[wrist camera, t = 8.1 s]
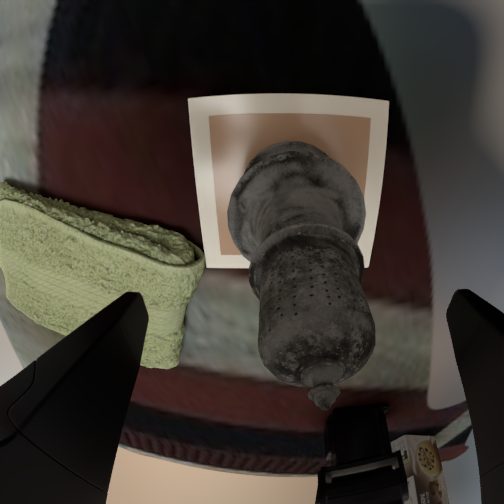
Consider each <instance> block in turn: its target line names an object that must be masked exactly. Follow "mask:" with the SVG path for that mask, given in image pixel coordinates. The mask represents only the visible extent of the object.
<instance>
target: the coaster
mask: <svg viewBox="0 0 504 504" xmlns="http://www.w3.org/2000/svg"><path fill="white" fill-rule="evenodd" d="M188 106H189V119H190V130H191V141H192V152H193V162H194V171H195V180H196V189H197V198H198V207H199V215H200V223H201V231H202V238H203V246H204V253H205V260H206V267H207V268H249V266H250V261H248V260H247V259H246V258H245V257H243V255H242V254H241V253H240V251H239V250H238V248H237V247H236V246H235V244H234V242H233V240H232V237H231V234H230V232H229V229H228V217H227V211H228V206H229V202H230V197H231V194H232V192H233V190H234V188H235V187H236V185H237V183H238V181H239V179H240V178H241V177H242V176H243V175H244V172H245V170H246V168H247V167H248V165H249V163H250V161H251V160H252V159H253V158H254V157H255V156H256V155H257V154H258V153H259V152H260V151H262V150H264V149H266V148H267V147H269V146H271V145H273V144H277V143H281V142H285V141H297V142H303V143H307V144H310V145H313V146H315V147H317V148H318V149H320V150H322V151H323V152H325V153H326V154H327V155H328V156H329V157H330V158H331V159H333V160H334V161H336V162H337V163H339V164H341V165H342V166H344V167H345V168H346V169H347V170H348V172H349V173H350V174H351V175H352V176H353V177H354V179H355V180H356V181H357V183H358V185H359V187H360V189H361V192H362V194H363V196H364V201H365V209H366V217H365V224H364V230H363V232H362V234H361V237H360V239H359V241H358V243H357V244H358V246H359V248H360V250H361V253H362V255H363V258H364V268H368V267H369V262H370V257H371V252H372V246H373V241H374V235H375V229H376V223H377V217H378V211H379V204H380V197H381V189H382V181H383V173H384V164H385V154H386V143H387V130H388V114H389V101H386V100H379V99H371V98H362V97H352V96H340V95H325V94H302V93H255V94H231V95H216V96H204V97H194V98H188Z"/></svg>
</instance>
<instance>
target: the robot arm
mask: <svg viewBox="0 0 504 504" xmlns="http://www.w3.org/2000/svg"><path fill="white" fill-rule="evenodd" d="M446 318H447V322H448V326H449V331H450V335H451V339H452V343H453V348H454V353H455V358H456V362H457V366H458V370H459V373H460V377H461V380H462V384H463V388H464V392H465V396H466V400H467V404H468V409H469V413H470V418H471V423H472V428H473V434H474V439H475V445H476V452H477V458H478V466H479V475H480V487H481V501H482V504H504V313H502V312H501V311H500V310H498V309H497V308H496V307H494V306H493V305H491V304H490V303H488V302H487V301H485V300H484V299H482V298H481V297H479V296H478V295H477V294H475V293H474V292H472V291H471V290H469V289H458V290H456V291H455V293H454V295H453V297H452V300H451V302H450V304H449V307H448V309H447V313H446ZM148 322H149V315H148V311H147V308H146V305H145V302H144V299H143V296H142V294H141V293H139V292H126V293H124V294H123V295H121V296H120V297H118V298H117V299H116V300H114V301H113V302H112V303H110V304H109V305H107V306H106V307H105V308H103V309H102V310H101V311H99V312H98V313H96V314H95V315H94V316H92V317H91V318H90V319H88V320H87V321H86V322H84V323H83V324H82V325H80V326H79V327H78V328H76V329H75V330H74V331H72V332H71V333H70V334H68V335H67V336H66V337H64V338H63V339H62V340H60V341H59V342H58V343H57V344H55V345H54V346H53V347H51V348H50V349H49V350H47V351H46V352H45V353H44V354H42V355H41V356H40V357H38V358H37V361H36V360H35V361H33V362H32V363H31V364H30V365H28V366H27V367H26V368H24V369H23V370H22V371H21V372H19V373H18V374H17V375H15V376H14V377H13V378H11V379H10V380H8V381H7V382H6V383H4V384H3V385H1V386H0V504H106V499H107V492H108V488H109V483H110V479H111V474H112V470H113V465H114V461H115V457H116V452H117V448H118V444H119V440H120V436H121V432H122V429H123V425H124V421H125V417H126V414H127V410H128V406H129V403H130V399H131V396H132V392H133V389H134V385H135V382H136V378H137V375H138V371H139V368H140V363H141V358H142V353H143V347H144V342H145V337H146V332H147V327H148ZM388 409H389V404H381V405H373V406H365V407H355V408H344V409H336V410H334V411H333V413H332V415H331V418H330V421H328V422H327V423H326V426H325V429H324V442H325V457H326V459H327V460H331V466H330V467H321V471H319V472H318V489H317V495H316V501H315V504H404V503H403V502H405V501H408V500H409V489H408V482H407V477H406V472H405V468H404V463H403V459H402V455H401V451H400V450H397V451H395V452H393V453H392V448H391V443H390V437H389V432H388V427H387V422H386V417H385V414H386V413H387V411H388ZM394 466H395V469H393V468H392V467H394Z"/></svg>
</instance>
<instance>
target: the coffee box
mask: <svg viewBox="0 0 504 504" xmlns="http://www.w3.org/2000/svg"><path fill="white" fill-rule="evenodd" d="M390 443H391V448H392V453H393V452H395V451H397V450H400V451H401V455H402V459H403V463H404V468H405V472H406V477H407V482H408V489H409V500H408V501H405V502H403V503H404V504H449V498H448V492H447V487H446V483H445V478H444V473H443V469H442V465H441V461H440V456H439V452H438V448H437V445H436V440H435V437H434V436H420V435H403V436H401V437H399V438H398V439H396V440H394V441H392V442H390ZM392 468H393V469H395V466H394V467H392Z"/></svg>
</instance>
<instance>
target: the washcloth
mask: <svg viewBox="0 0 504 504" xmlns="http://www.w3.org/2000/svg"><path fill="white" fill-rule="evenodd" d="M204 262H205V256H204V253H203V252H202V251H201V249H200V248H199V247H197V246H196V245H195V244H193V243H192V242H190V241H188V240H187V239H186V238H185V237H184V236H183V235H181V234H180V233H178V232H174V231H172V230H167V229H164V228H162V227H160V226H158V225H146V224H143V223H141V222H136V221H133V220H129V219H120V218H115V217H114V216H113V215H110V214H105V213H101V212H99V211H92V210H88V209H86V208H85V207H83V208H82V207H80V208H77V207H76V206H74V205H70V204H69V202H63V200H62V199H61V200H59V201H58V200H57V199H55V200H53V199H52V198H51V197H49V198H46V197H45V198H44V197H42V196H41V195H38V194H35V195H34V194H33V193H29V194H27V193H26V192H25V190H23V189H22V190H20V189H19V190H18V189H17V188H16V187H11V186H10V185H9V184H8V182H2V183H0V267H1V269H2V271H3V273H4V275H5V281H6V297H7V298H8V299H9V300H10V302H11V304H13V306H14V307H15V308H17V309H18V310H19V311H22V312H23V313H24V314H25V315H26V316H28V317H29V318H30V319H33V320H34V321H35V323H37V324H39V325H42V326H45V327H47V328H48V329H52V330H54V331H55V332H59V333H61V334H63V335H65V336H67V335H68V334H70V333H71V332H72V331H74V330H75V329H76V328H78V327H79V326H80V325H82V324H83V323H84V322H86V321H87V320H88V319H90V318H91V317H92V316H94V315H95V314H96V313H98V312H99V311H101V310H102V309H103V308H105V307H106V306H107V305H109V304H110V303H112V302H113V301H114V300H116V299H117V298H118V297H120V296H121V295H123V294H124V293H126V292H139V293H141V294H142V296H143V299H144V302H145V305H146V308H147V311H148V315H149V322H148V327H147V332H146V337H145V342H144V347H143V353H142V358H141V363H140V365H142V366H146V367H147V368H149V367H150V368H153V367H155V368H161V369H162V368H164V369H170V368H172V367H175V366H177V365H178V364H179V363H178V362H179V358H180V353H179V352H180V350H181V347H182V345H181V343H182V338H183V335H184V334H185V331H184V329H186V327H185V325H184V324H183V322H184V321H183V320H184V316H185V311H186V305H187V304H188V303H189V302H190V300H191V298H192V297H193V293H194V291H195V290H196V289H195V288H196V287H197V285H198V281H199V280H200V278H201V277H202V275H203V270H204V268H205V263H204Z"/></svg>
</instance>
